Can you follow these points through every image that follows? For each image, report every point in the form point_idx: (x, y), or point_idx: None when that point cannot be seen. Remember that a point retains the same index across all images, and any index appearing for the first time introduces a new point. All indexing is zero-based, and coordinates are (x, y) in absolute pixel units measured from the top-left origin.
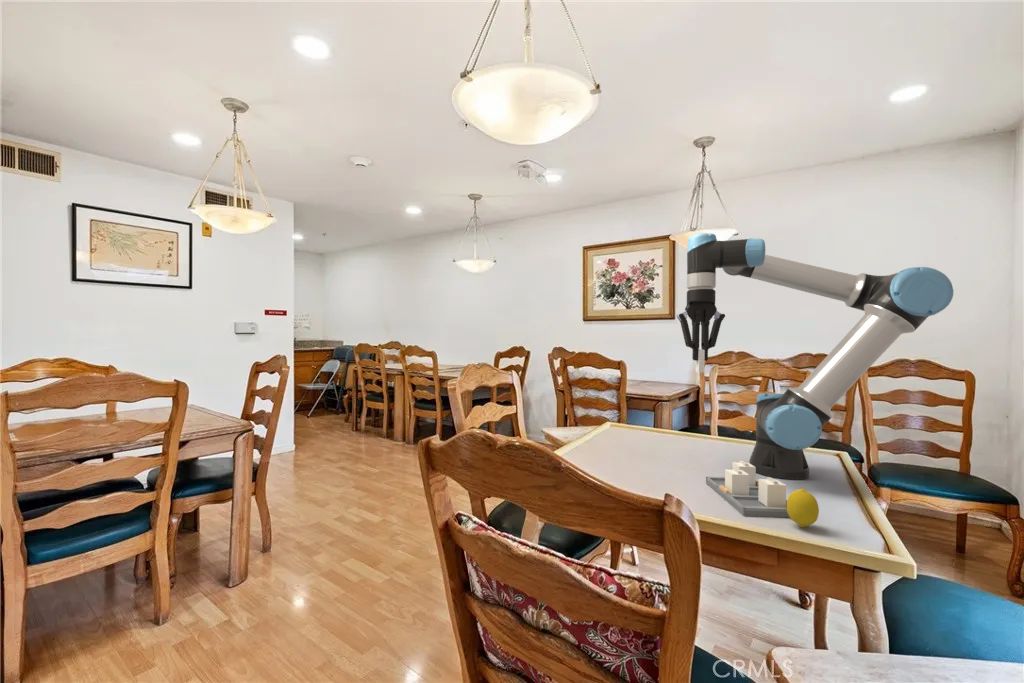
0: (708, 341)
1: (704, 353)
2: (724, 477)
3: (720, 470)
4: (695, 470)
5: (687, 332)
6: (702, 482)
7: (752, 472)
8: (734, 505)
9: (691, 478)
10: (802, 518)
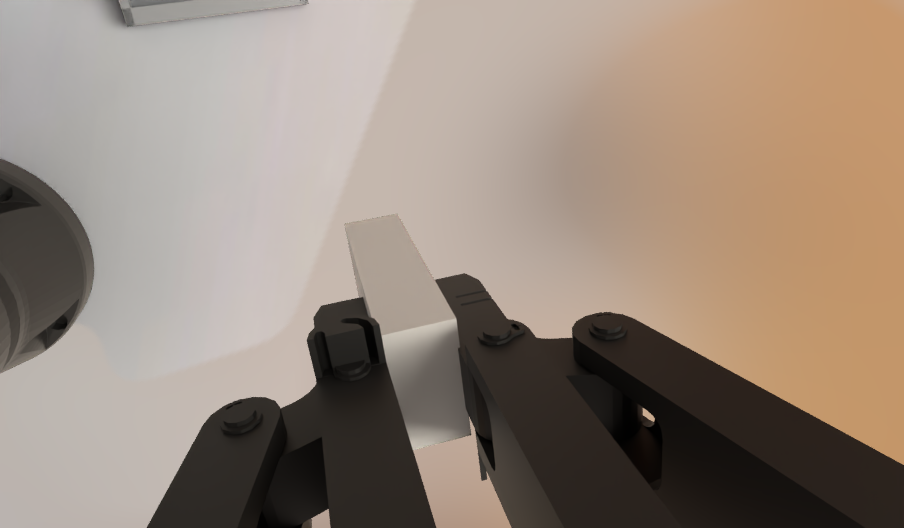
0: (326, 440)
1: (370, 309)
2: (231, 7)
3: (221, 207)
4: (323, 177)
5: (805, 439)
6: (319, 13)
7: None
8: None
9: (354, 59)
10: None
